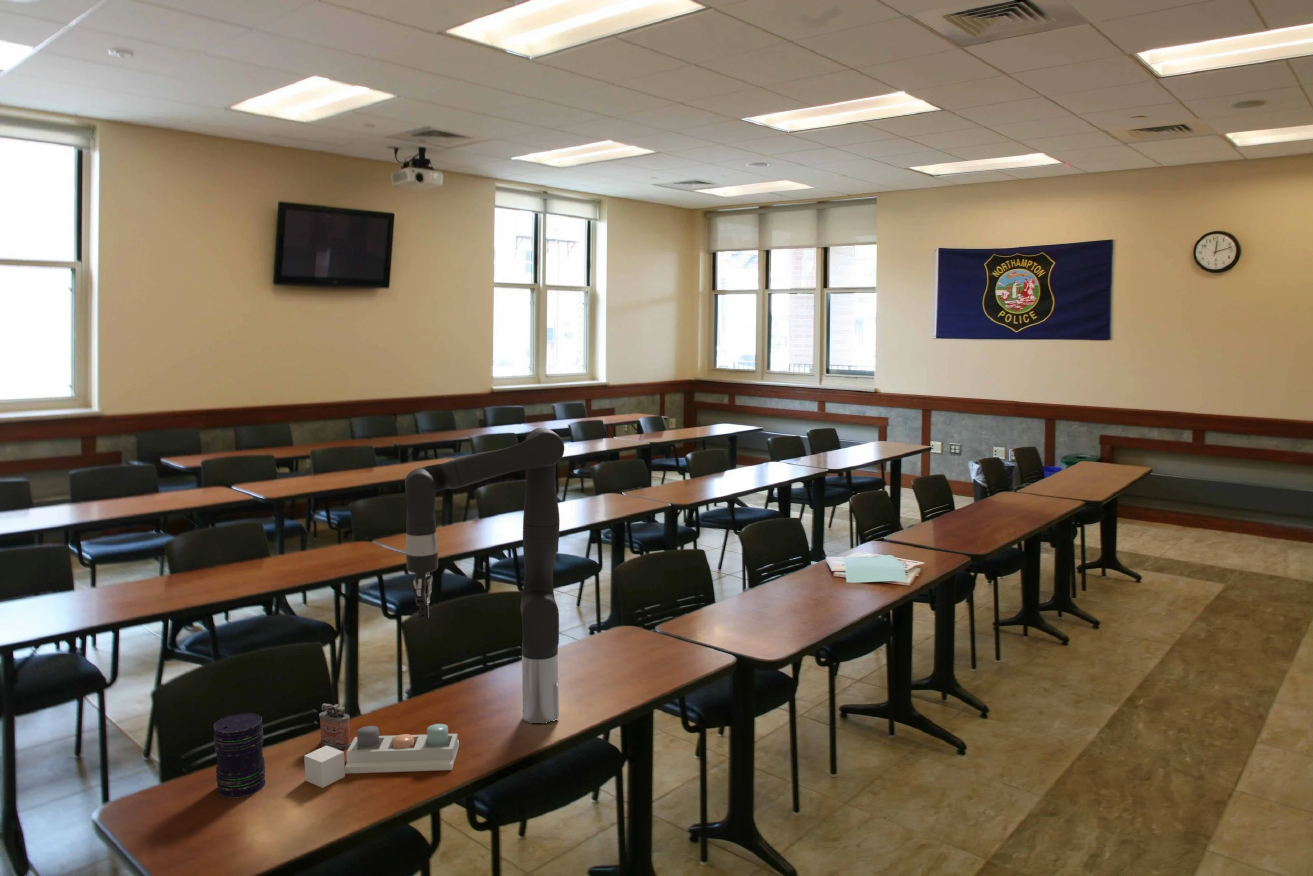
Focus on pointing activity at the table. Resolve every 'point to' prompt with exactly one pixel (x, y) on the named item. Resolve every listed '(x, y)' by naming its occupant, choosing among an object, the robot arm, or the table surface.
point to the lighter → (334, 727)
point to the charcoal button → (368, 736)
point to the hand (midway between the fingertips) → (424, 619)
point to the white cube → (324, 766)
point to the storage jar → (239, 755)
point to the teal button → (437, 734)
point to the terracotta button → (403, 741)
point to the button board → (402, 756)
